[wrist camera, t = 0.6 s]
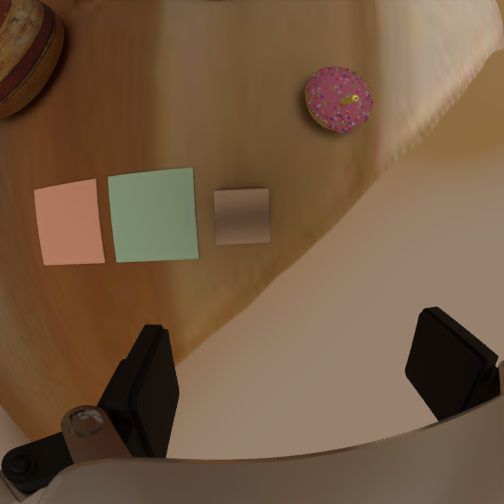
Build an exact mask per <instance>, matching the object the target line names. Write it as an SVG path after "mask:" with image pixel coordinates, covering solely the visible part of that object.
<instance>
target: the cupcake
mask: <svg viewBox="0 0 504 504" xmlns="http://www.w3.org/2000/svg"><path fill="white" fill-rule="evenodd" d="M304 90H305V100H306V105H307V108H308V111H309V113H310V115H311V116H312V118H313V119H314V120H315V121H316V122H318V123H319V124H320V125H321V126H322V127H324V128H326V129H330V130H333V131H336V132H340V133H348V132H351V131H353V130H354V129H356V128H358V127H359V126H360V125H362V124H363V123H364V122H365V121H367V118H368V116H369V114H370V113H371V110H372V103H373V102H372V99H371V93H370V90H369V87H368V86H367V85H366V84H365V82H364V81H363V80H362V78H360V77H359V76H358V75H357V74H356V73H354V72H352V71H350V70H348V68H347V69H344V68H341V67H326V68H321V69H319V70H318V71H317V72H316V73H315V74H313V76H312V77H311V79H310V80H309V81H308V83H307V84H306V86H305V89H304Z"/></svg>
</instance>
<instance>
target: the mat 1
mask: <svg viewBox="0 0 504 504" xmlns="http://www.w3.org/2000/svg"><path fill="white" fill-rule="evenodd" d="M34 194H35V206H36V215H37V224H38V231H39V238H40V244H41V250H42V256H43V261H44V265H62V264H87V263H105V262H106V260H105V254H104V247H103V240H102V232H101V224H100V214H99V204H98V191H97V179H91V180H85V181H79V182H73V183H67V184H62V185H57V186H52V187H47V188H42V189H37V190H34Z"/></svg>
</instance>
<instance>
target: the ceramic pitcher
mask: <svg viewBox="0 0 504 504" xmlns="http://www.w3.org/2000/svg"><path fill="white" fill-rule="evenodd" d="M63 41H64V28H63V25H62V22H61V20H60V19H59V17H58V16H57V15H56V13H55V12H54V11H53V10H52V9H51V8H50V7H48V6H47V5H45V4H44V3H42V2H40V1H38V0H0V119H1V118H5V117H7V116H10V115H12V114H13V113H15V112H18V111H19V110H21V109H22V108H23V107H25V106H26V105H27V104H28V103H29V102H30V101H32V100H33V99H34V97H35V96H36V95H37V94H38V93H39V92H40V91H41V90H42V88H43V87H44V85H45V84H46V83H47V81H48V80H49V78H50V76H51V74H52V72H53V70H54V68H55V66H56V64H57V61H58V59H59V56H60V53H61V50H62V47H63Z"/></svg>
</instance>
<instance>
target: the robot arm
mask: <svg viewBox="0 0 504 504" xmlns="http://www.w3.org/2000/svg"><path fill="white" fill-rule="evenodd" d="M497 359H498V355H496V354H495V353H494V352H493V351H492V350H490V349H489V348H488V347H487V346H486V345H485V344H483V343H482V342H481V341H480V340H479V339H477V338H476V337H475V336H474V335H473V334H471V333H470V332H469V331H467V330H466V329H465V328H464V327H463V326H461V325H460V324H459V323H458V322H456V321H455V320H454V319H453V318H451V317H450V316H449V315H448V314H446V313H445V312H444V311H442V310H441V309H440V308H439V307H431V308H425V309H423V311H422V312H421V313H420V314H419V317H418V322H417V326H416V330H415V334H414V338H413V342H412V346H411V350H410V354H409V357H408V361H407V365H406V368H405V374H406V377H407V378H408V379H409V381H410V382H411V384H412V385H413V386H414V388H415V389H416V390H417V392H418V393H419V395H420V396H421V397H422V399H423V400H424V401H425V403H426V404H427V406H428V407H429V408H430V410H431V411H432V413H433V414H434V415H435V417H436V418H437V420H438V421H439V422H436V423H433V424H430V425H428V426H425V427H422V428H419V429H416V430H413V431H409V432H406V433H403V434H399V435H396V436H392V437H389V438H385V439H381V440H377V441H373V442H369V443H365V444H360V445H355V446H351V447H346V448H341V449H335V450H329V451H323V452H317V453H311V454H302V455H294V456H285V457H273V458H258V459H232V460H200V459H169V458H166V454H167V449H168V444H169V440H170V435H171V430H172V426H173V421H174V417H175V412H176V408H177V403H178V399H179V386H178V381H177V376H176V371H175V366H174V361H173V355H172V350H171V344H170V338H169V333H168V330H167V329H163V327H162V325H148V324H146V325H145V326H144V327H143V329H142V331H141V333H140V334H139V336H138V338H137V340H136V342H135V343H134V345H133V347H132V349H131V351H130V353H129V354H128V356H127V358H126V359H123V360H122V361H121V362H120V363H119V365H118V367H117V369H116V371H115V373H114V374H113V376H112V378H111V380H110V382H109V384H108V385H107V387H106V389H105V391H104V393H103V395H102V397H101V399H100V401H99V402H98V404H97V406H92V405H83V406H78V407H76V408H73V409H71V410H70V411H69V412H67V413H66V414H65V416H64V417H63V418H62V421H61V430H62V432H59V433H56V434H54V435H51V436H48V437H46V438H43V439H40V440H37V441H34V442H31V443H29V444H25V445H23V446H19V447H16V448H14V449H12V450H10V451H9V452H8V453H7V454H6V455H5V456H4V458H3V460H2V465H1V466H2V469H1V470H0V504H504V361H501V363H500V364H499V366H498V368H497V367H496V366H495V364H496V362H497Z"/></svg>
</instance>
